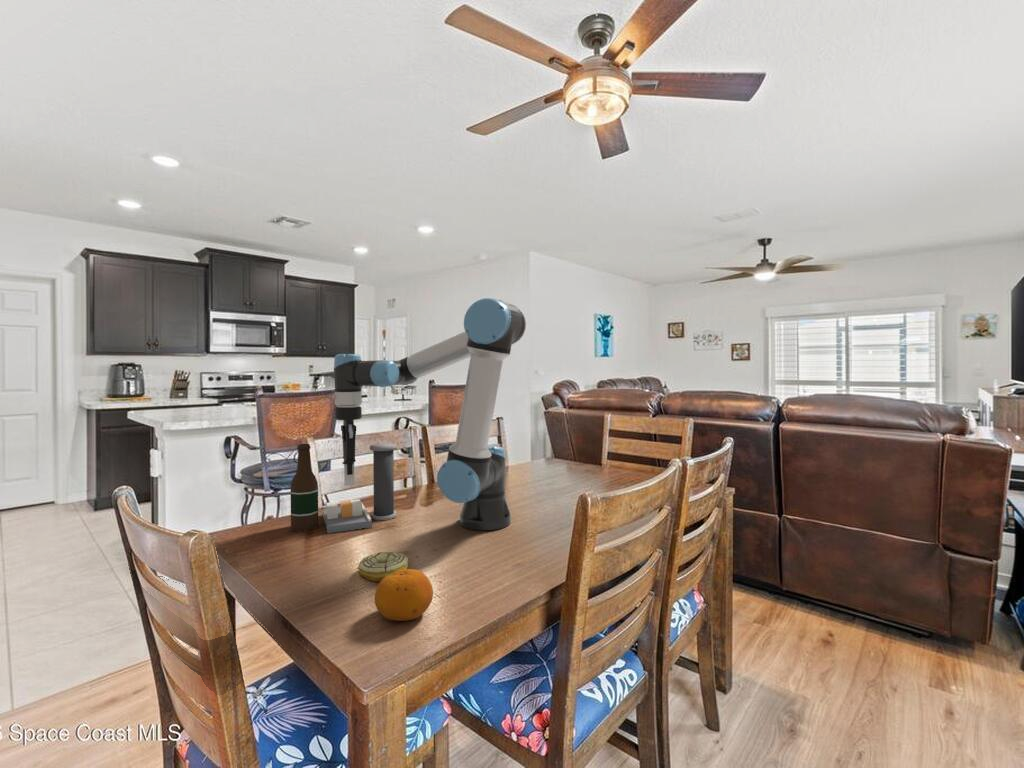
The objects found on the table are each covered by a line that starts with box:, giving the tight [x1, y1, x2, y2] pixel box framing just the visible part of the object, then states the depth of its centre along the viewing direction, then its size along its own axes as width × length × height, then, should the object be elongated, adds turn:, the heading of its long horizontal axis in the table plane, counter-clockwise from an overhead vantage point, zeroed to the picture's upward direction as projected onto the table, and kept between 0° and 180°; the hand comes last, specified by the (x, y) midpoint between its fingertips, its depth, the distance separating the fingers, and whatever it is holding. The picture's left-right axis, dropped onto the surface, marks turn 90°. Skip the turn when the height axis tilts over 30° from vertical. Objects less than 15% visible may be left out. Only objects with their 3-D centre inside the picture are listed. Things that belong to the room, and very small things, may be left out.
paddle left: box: [325, 501, 339, 519], centre depth 142 cm, size 5×3×4 cm, turn 25°
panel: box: [322, 502, 373, 534], centre depth 144 cm, size 18×12×3 cm, turn 25°
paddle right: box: [350, 498, 363, 516], centre depth 145 cm, size 5×3×4 cm, turn 25°
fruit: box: [374, 568, 434, 622], centre depth 90 cm, size 10×10×8 cm
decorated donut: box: [357, 551, 409, 582], centre depth 109 cm, size 10×11×4 cm
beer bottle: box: [290, 443, 319, 532], centre depth 138 cm, size 8×8×24 cm
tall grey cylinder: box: [369, 443, 398, 522], centre depth 149 cm, size 8×8×22 cm
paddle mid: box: [339, 499, 352, 518], centre depth 144 cm, size 5×3×4 cm, turn 25°
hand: (349, 484), depth 144 cm, fingers closed
